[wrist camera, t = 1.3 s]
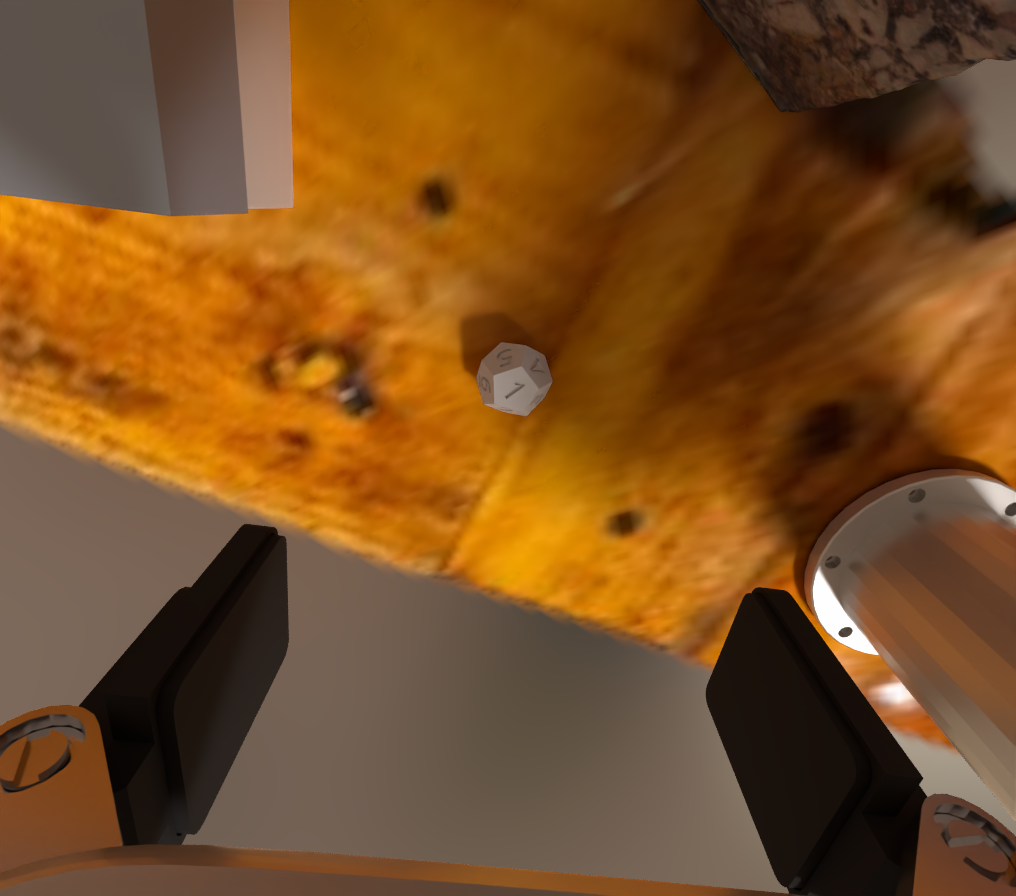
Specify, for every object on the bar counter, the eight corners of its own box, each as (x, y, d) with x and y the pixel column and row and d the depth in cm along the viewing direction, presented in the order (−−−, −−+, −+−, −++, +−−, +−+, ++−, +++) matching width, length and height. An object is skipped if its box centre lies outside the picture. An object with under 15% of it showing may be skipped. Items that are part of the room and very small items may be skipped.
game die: (463, 365, 27) (458, 383, 25) (522, 321, 26) (523, 334, 24) (505, 417, 29) (505, 440, 26) (563, 376, 28) (569, 395, 25)
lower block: (290, -13, 21) (230, -72, 17) (294, 207, 25) (245, 208, 20) (81, -49, 21) (-40, -120, 16) (113, 180, 24) (20, 175, 20)
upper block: (228, -66, 17) (122, -167, 12) (248, 213, 20) (171, 215, 15) (-40, -106, 16) (-252, -226, 12) (25, 184, 20) (-122, 178, 15)
